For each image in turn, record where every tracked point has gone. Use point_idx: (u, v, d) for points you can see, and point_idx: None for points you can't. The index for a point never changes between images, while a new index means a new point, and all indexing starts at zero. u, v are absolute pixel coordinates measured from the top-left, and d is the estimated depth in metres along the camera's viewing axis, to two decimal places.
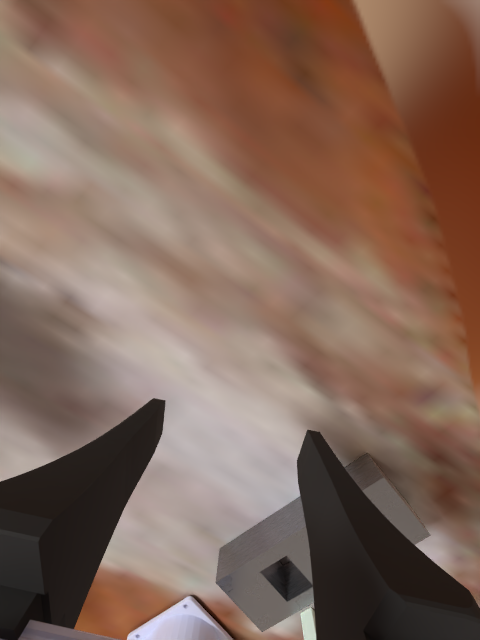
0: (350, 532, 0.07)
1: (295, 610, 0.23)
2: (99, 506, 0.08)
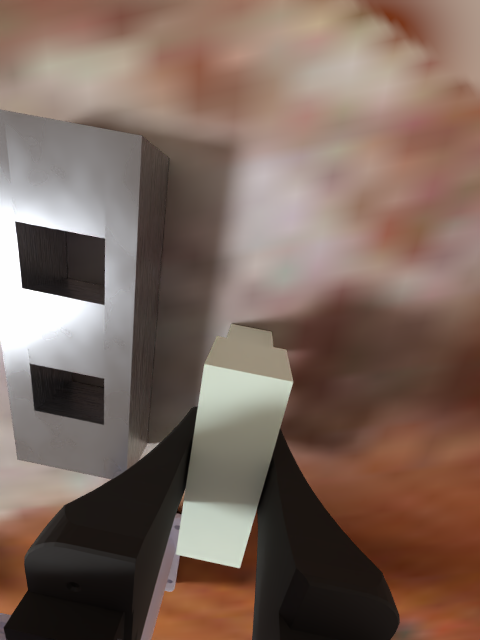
0: (281, 517, 0.07)
1: (124, 428, 0.14)
2: (164, 520, 0.08)
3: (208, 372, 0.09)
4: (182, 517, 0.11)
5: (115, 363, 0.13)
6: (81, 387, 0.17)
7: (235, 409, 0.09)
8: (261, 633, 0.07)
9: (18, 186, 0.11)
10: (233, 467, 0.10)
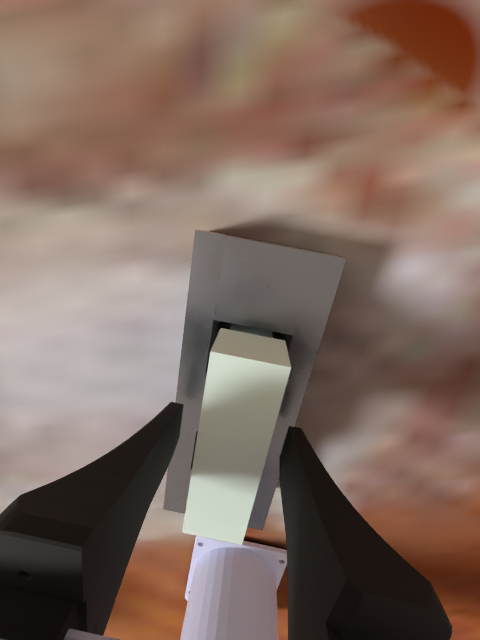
0: (319, 525, 0.07)
1: (272, 485, 0.16)
2: (128, 512, 0.08)
3: (214, 359, 0.09)
4: (188, 496, 0.12)
5: (277, 433, 0.15)
6: None
7: (238, 393, 0.10)
8: None
9: (223, 293, 0.12)
10: (236, 447, 0.11)
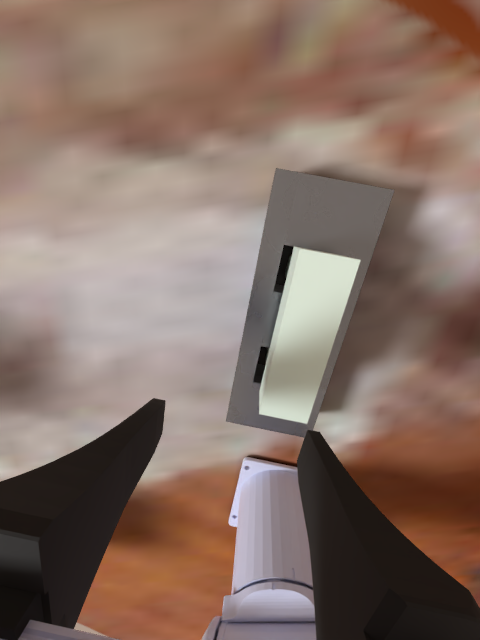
0: (350, 531, 0.07)
1: (321, 395, 0.19)
2: (99, 506, 0.08)
3: (302, 255, 0.13)
4: (268, 379, 0.15)
5: None
6: (264, 367, 0.22)
7: (318, 283, 0.13)
8: None
9: (294, 221, 0.15)
10: (311, 332, 0.14)
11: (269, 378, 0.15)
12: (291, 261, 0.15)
